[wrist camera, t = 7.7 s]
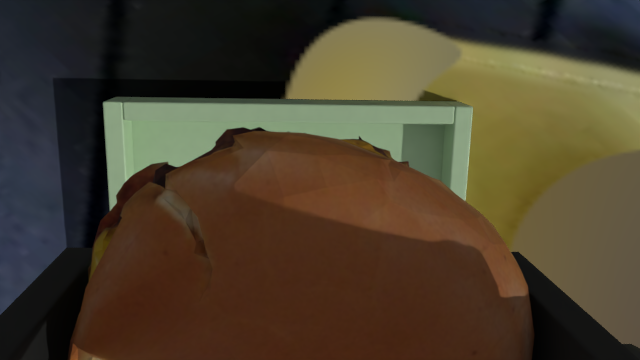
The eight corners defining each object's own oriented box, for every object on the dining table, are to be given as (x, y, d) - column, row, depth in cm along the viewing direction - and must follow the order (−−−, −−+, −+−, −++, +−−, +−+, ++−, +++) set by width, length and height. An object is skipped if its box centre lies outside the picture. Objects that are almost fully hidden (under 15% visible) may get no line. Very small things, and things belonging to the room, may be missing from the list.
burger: (498, 440, 16) (584, 597, 12) (156, 504, 16) (108, 691, 11) (460, 76, 14) (550, 94, 9) (58, 143, 13) (-52, 197, 9)
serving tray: (459, 101, 27) (473, 106, 26) (437, 400, 31) (447, 424, 29) (114, 96, 26) (102, 101, 24) (133, 407, 30) (123, 432, 28)
